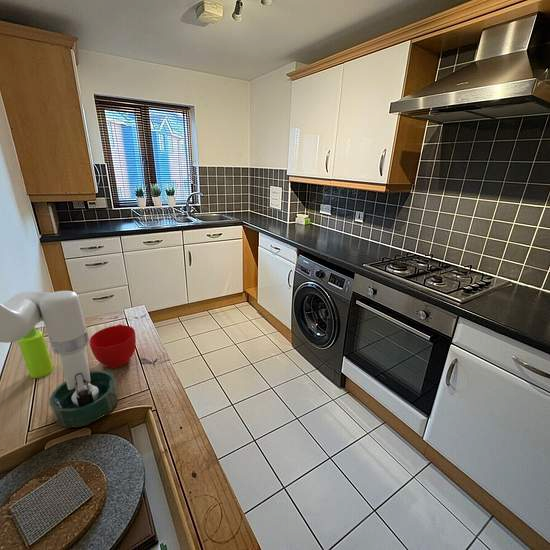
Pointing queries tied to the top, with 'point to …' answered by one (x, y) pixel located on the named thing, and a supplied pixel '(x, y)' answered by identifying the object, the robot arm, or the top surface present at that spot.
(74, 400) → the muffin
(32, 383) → the top surface
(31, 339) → the soap dispenser
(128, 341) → the red bowl
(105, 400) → the dark green pet bowl
